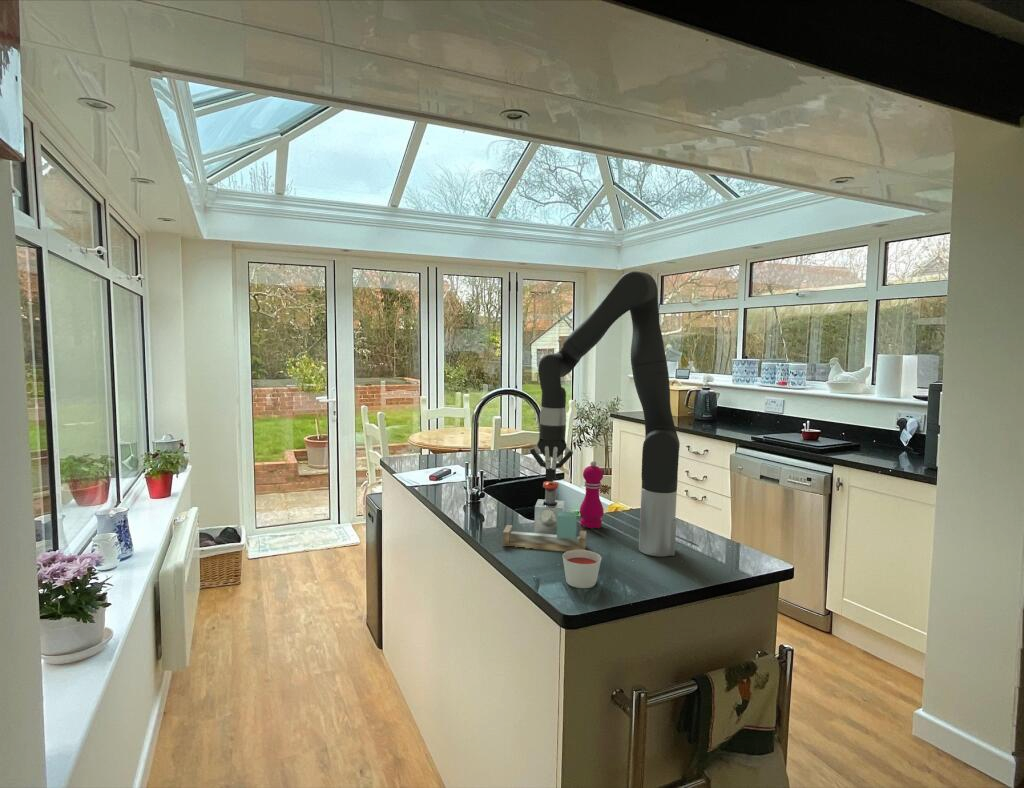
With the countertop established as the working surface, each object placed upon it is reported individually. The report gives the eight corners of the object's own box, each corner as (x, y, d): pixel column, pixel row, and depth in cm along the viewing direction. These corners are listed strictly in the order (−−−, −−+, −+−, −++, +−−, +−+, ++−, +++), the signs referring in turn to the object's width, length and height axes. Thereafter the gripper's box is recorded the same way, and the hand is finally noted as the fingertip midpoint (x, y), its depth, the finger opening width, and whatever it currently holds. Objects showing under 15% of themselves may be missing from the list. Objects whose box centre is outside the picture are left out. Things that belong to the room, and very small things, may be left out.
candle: (608, 583, 142) (609, 557, 141) (583, 594, 135) (584, 567, 135) (578, 571, 148) (579, 546, 147) (553, 581, 142) (554, 556, 141)
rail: (585, 545, 166) (586, 531, 166) (584, 553, 160) (585, 538, 160) (506, 538, 170) (506, 524, 169) (502, 546, 164) (502, 532, 163)
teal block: (576, 534, 165) (577, 512, 165) (575, 539, 161) (576, 517, 161) (558, 532, 166) (558, 511, 165) (556, 537, 162) (557, 515, 161)
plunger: (557, 512, 179) (558, 481, 178) (556, 516, 175) (557, 485, 174) (543, 510, 180) (544, 480, 179) (541, 515, 175) (542, 484, 174)
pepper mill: (602, 530, 178) (605, 464, 176) (577, 528, 180) (580, 462, 178) (603, 523, 186) (606, 459, 183) (580, 521, 187) (582, 457, 185)
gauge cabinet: (563, 526, 181) (564, 500, 180) (561, 536, 173) (562, 509, 172) (537, 524, 182) (538, 499, 181) (533, 534, 174) (534, 507, 173)
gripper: (528, 423, 171) (526, 482, 173) (574, 425, 169) (572, 486, 171) (531, 419, 179) (529, 476, 181) (576, 421, 177) (573, 479, 179)
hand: (550, 481), depth 176 cm, fingers closed
